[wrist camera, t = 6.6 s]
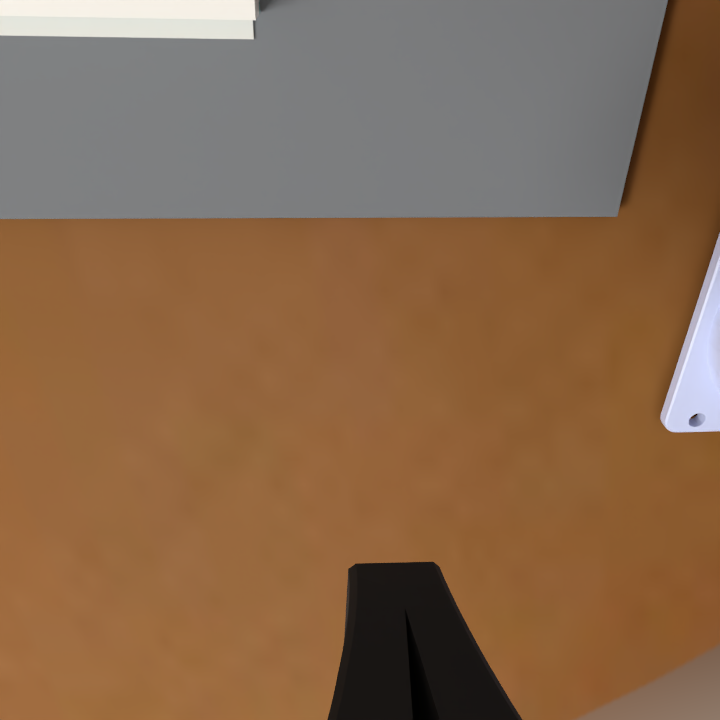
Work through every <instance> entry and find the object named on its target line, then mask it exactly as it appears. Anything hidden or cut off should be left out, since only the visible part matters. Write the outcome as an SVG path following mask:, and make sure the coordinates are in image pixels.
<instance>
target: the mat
mask: <svg viewBox="0 0 720 720" xmlns="http://www.w3.org/2000/svg"><path fill="white" fill-rule="evenodd" d="M667 2H668V0H260V15H259V16H258V18H257V19H256V20H212V19H155V18H98V17H40V16H0V219H110V218H382V217H617V215H618V211H619V206H620V202H621V198H622V194H623V189H624V185H625V181H626V177H627V172H628V168H629V164H630V160H631V155H632V151H633V147H634V143H635V138H636V134H637V130H638V126H639V121H640V117H641V113H642V109H643V104H644V100H645V96H646V91H647V87H648V83H649V79H650V74H651V70H652V66H653V62H654V57H655V53H656V49H657V45H658V40H659V36H660V32H661V28H662V23H663V19H664V15H665V11H666V6H667Z"/></svg>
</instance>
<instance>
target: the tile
mask: <svg viewBox="0 0 720 720" xmlns="http://www.w3.org/2000/svg"><path fill="white" fill-rule="evenodd" d="M259 15H260V0H0V16H40V17H98V18H155V19H212V20H256V19H257V18H258V16H259Z"/></svg>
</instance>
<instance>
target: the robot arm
mask: <svg viewBox="0 0 720 720" xmlns="http://www.w3.org/2000/svg"><path fill="white" fill-rule="evenodd" d="M695 414H697V416H695V417H694V418H692V419H690V418H691V417H692V416H693V415H695ZM661 421H662V423H663V424H664V426H665V427H666V428H667V429H668V430H669V431H671V432H706V431H720V234H719V237H718V240H717V243H716V246H715V249H714V252H713V255H712V258H711V261H710V264H709V268H708V271H707V274H706V277H705V280H704V283H703V286H702V289H701V292H700V295H699V298H698V301H697V305H696V308H695V311H694V314H693V317H692V320H691V323H690V326H689V329H688V332H687V335H686V338H685V342H684V345H683V348H682V351H681V354H680V357H679V360H678V363H677V366H676V369H675V372H674V375H673V379H672V382H671V385H670V388H669V391H668V394H667V397H666V400H665V403H664V406H663V409H662V412H661ZM328 720H522V719H521V717H520V715H519V714H518V712H517V711H516V709H515V708H514V706H513V704H512V703H511V701H510V699H509V698H508V696H507V694H506V693H505V691H504V689H503V688H502V686H501V684H500V683H499V681H498V679H497V678H496V676H495V674H494V673H493V671H492V669H491V668H490V666H489V664H488V662H487V661H486V659H485V657H484V655H483V654H482V652H481V650H480V648H479V646H478V645H477V643H476V641H475V639H474V637H473V635H472V633H471V632H470V630H469V628H468V626H467V624H466V622H465V620H464V618H463V616H462V614H461V613H460V611H459V609H458V607H457V605H456V603H455V600H454V598H453V596H452V594H451V592H450V590H449V588H448V586H447V583H446V581H445V579H444V577H443V574H442V572H441V570H440V567H439V566H438V565H436V564H435V563H434V562H409V563H365V564H355V565H354V566H352V567H351V568H349V569H348V586H347V603H346V621H345V638H344V646H343V652H342V657H341V662H340V667H339V672H338V677H337V681H336V686H335V691H334V696H333V700H332V705H331V709H330V713H329V716H328Z"/></svg>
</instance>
